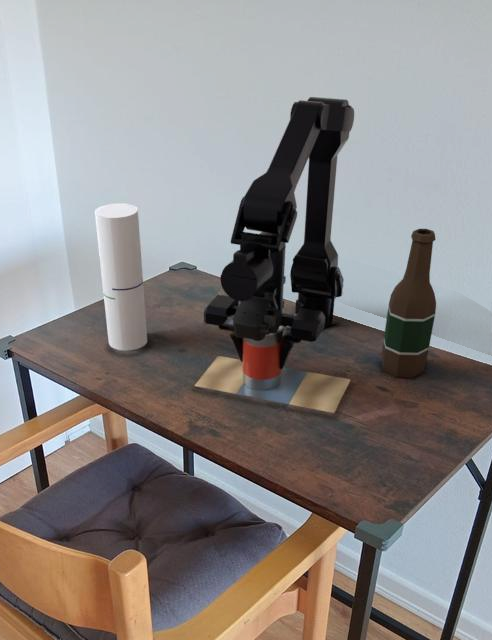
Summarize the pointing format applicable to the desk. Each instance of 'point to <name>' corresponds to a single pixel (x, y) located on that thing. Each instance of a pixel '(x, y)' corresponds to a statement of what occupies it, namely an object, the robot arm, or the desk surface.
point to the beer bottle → (411, 312)
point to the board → (309, 393)
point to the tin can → (262, 361)
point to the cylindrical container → (122, 275)
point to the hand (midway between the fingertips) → (262, 364)
